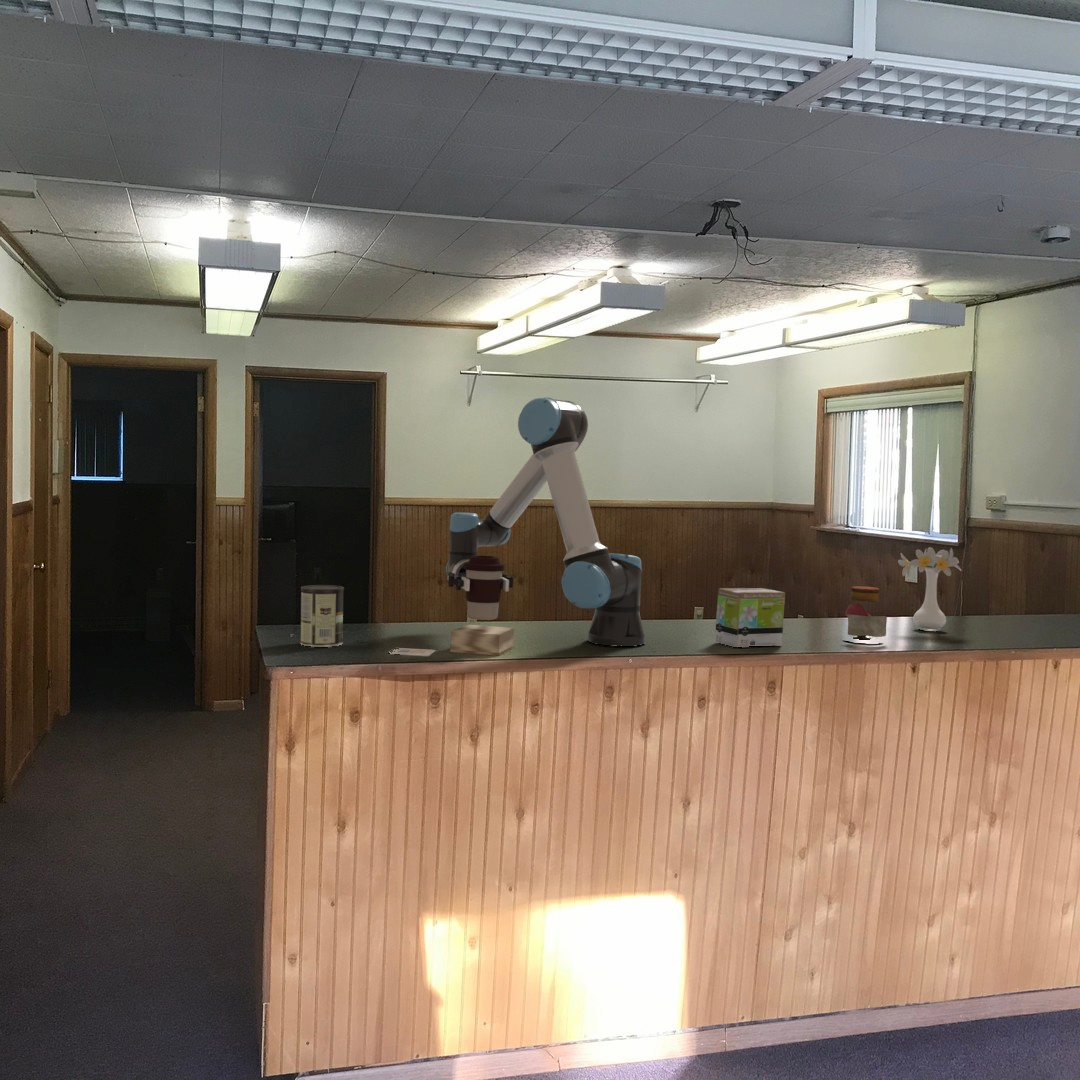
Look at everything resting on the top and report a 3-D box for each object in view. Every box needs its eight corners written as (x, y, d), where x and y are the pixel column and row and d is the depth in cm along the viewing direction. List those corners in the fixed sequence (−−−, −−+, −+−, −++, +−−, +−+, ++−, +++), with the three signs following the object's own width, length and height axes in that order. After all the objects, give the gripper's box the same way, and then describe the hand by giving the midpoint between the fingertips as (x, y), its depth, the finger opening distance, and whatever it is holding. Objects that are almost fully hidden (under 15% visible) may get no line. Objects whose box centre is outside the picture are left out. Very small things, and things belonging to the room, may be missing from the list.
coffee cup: (487, 622, 255) (489, 559, 254) (453, 617, 261) (456, 556, 260) (510, 618, 264) (513, 557, 263) (477, 614, 269) (479, 554, 268)
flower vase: (888, 627, 327) (892, 545, 325) (941, 627, 332) (946, 546, 330) (913, 634, 314) (918, 548, 313) (968, 633, 319) (973, 549, 317)
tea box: (737, 649, 277) (740, 592, 276) (713, 643, 285) (716, 587, 285) (783, 646, 284) (786, 590, 283) (759, 640, 292) (761, 586, 291)
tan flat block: (514, 647, 267) (514, 627, 267) (499, 655, 255) (499, 634, 255) (466, 644, 270) (467, 624, 270) (449, 651, 258) (450, 631, 258)
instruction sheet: (436, 650, 259) (436, 649, 259) (428, 656, 251) (428, 655, 251) (395, 648, 260) (395, 647, 260) (386, 654, 252) (386, 652, 252)
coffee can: (326, 639, 270) (327, 583, 269) (351, 645, 263) (352, 587, 262) (291, 643, 263) (292, 586, 262) (316, 649, 256) (317, 590, 255)
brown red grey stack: (829, 638, 300) (832, 585, 299) (869, 638, 304) (872, 585, 303) (851, 645, 289) (854, 590, 288) (893, 645, 292) (896, 590, 291)
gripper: (509, 590, 282) (530, 601, 260) (427, 589, 276) (442, 600, 255) (510, 561, 282) (532, 570, 260) (428, 560, 276) (443, 569, 254)
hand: (487, 585), depth 257 cm, fingers closed on coffee cup, 9 cm apart
